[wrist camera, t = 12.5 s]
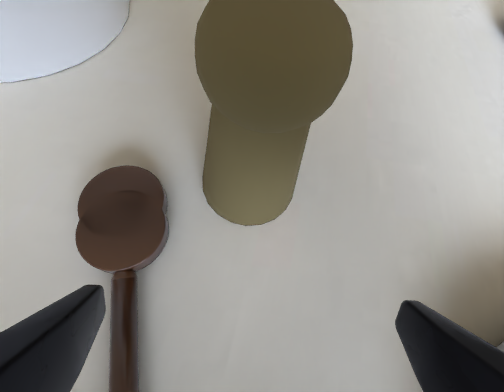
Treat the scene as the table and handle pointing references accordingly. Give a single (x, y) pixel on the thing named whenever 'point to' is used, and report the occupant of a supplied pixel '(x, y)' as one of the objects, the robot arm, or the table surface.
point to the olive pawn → (265, 96)
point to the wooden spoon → (122, 252)
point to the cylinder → (54, 34)
